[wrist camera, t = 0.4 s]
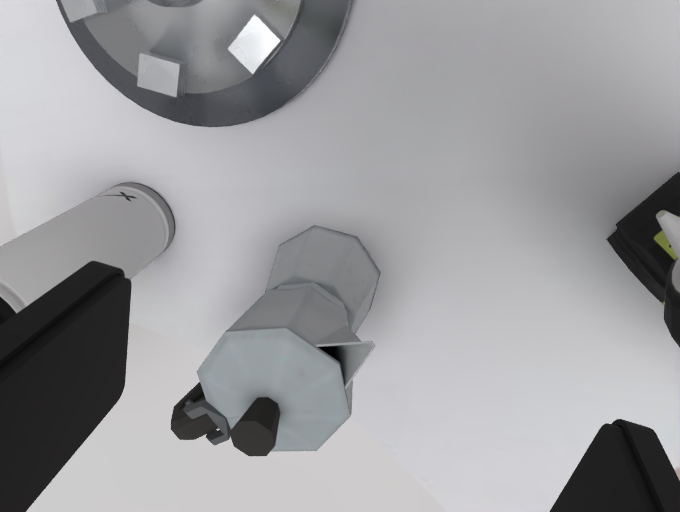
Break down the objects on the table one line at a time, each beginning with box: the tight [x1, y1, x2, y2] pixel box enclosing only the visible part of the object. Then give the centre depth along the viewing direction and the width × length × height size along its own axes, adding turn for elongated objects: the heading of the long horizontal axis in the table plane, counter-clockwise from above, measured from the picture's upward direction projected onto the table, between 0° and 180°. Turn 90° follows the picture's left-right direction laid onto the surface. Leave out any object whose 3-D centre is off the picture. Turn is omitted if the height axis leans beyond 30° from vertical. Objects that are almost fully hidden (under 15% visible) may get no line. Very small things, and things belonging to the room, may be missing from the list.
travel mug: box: [0, 183, 174, 325], centre depth 34 cm, size 6×7×20 cm
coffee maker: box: [171, 225, 380, 456], centre depth 34 cm, size 15×9×18 cm, turn 123°
